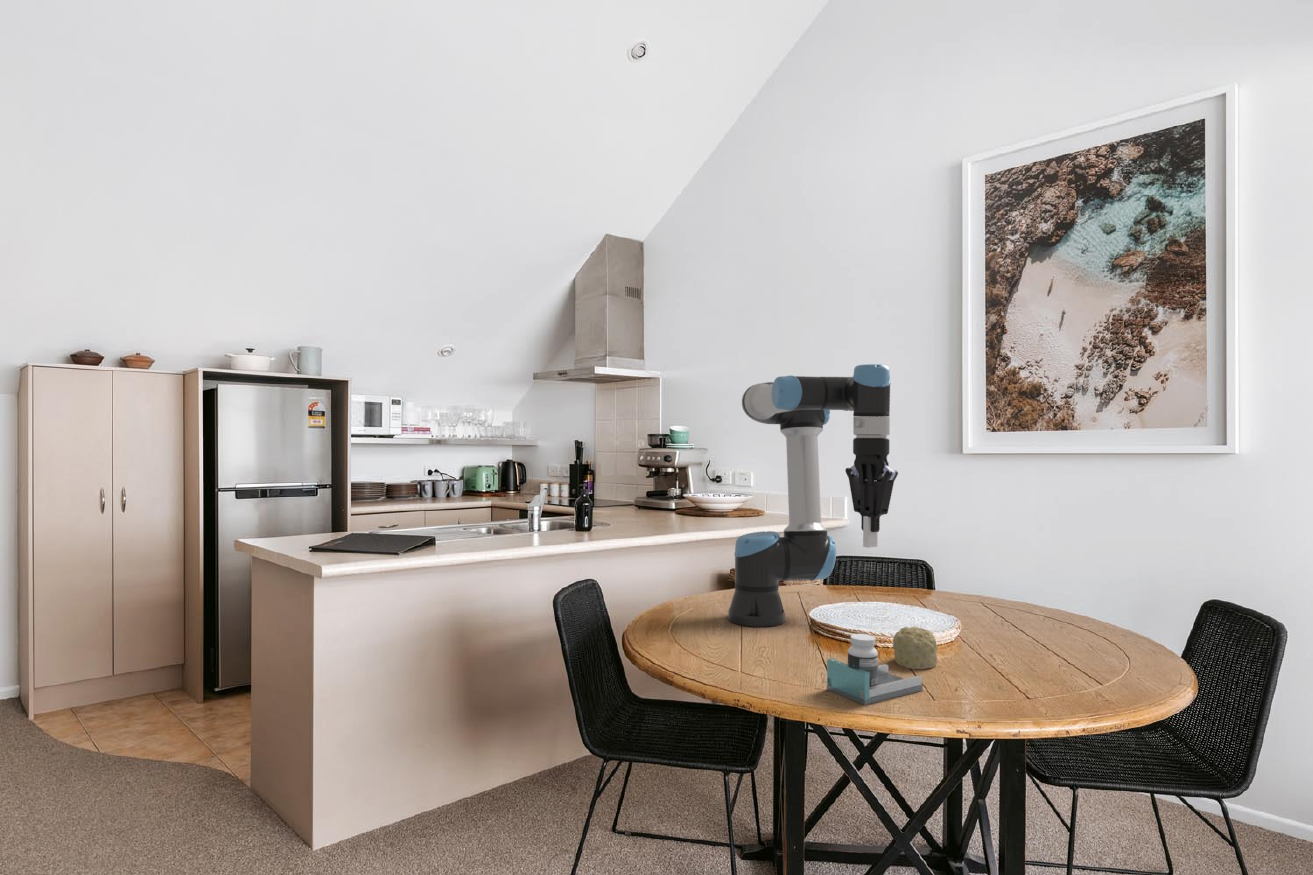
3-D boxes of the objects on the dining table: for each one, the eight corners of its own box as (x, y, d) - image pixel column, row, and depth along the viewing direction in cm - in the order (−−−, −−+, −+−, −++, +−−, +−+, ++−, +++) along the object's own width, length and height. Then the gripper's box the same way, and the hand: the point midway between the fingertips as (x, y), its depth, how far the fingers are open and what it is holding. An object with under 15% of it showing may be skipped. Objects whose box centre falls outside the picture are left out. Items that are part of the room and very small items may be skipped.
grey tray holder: (883, 676, 160) (884, 647, 160) (922, 690, 151) (922, 660, 151) (826, 689, 152) (827, 659, 152) (864, 705, 143) (864, 673, 143)
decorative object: (939, 678, 169) (933, 634, 175) (940, 664, 161) (934, 619, 167) (895, 679, 172) (891, 635, 177) (894, 665, 164) (890, 620, 169)
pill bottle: (843, 682, 153) (843, 633, 153) (871, 681, 153) (871, 632, 153) (853, 692, 147) (853, 641, 147) (881, 691, 148) (882, 640, 148)
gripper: (836, 436, 168) (835, 543, 168) (882, 437, 157) (881, 552, 157) (861, 436, 172) (860, 541, 172) (907, 437, 160) (906, 549, 161)
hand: (870, 546), depth 164 cm, fingers closed
